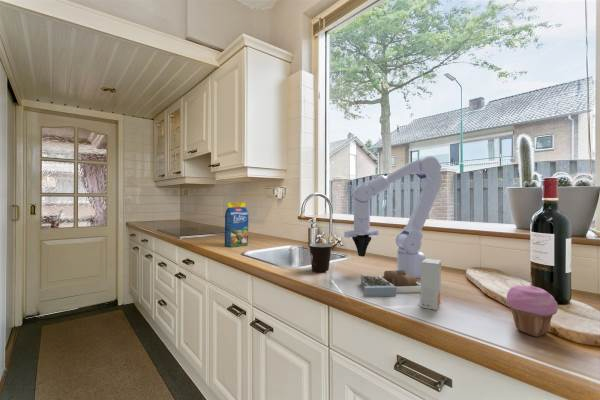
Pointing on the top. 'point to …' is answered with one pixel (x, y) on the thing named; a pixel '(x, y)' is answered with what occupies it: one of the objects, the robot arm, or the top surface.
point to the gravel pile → (372, 281)
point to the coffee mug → (320, 257)
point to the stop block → (379, 291)
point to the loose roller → (403, 280)
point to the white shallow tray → (405, 287)
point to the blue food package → (236, 225)
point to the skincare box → (430, 283)
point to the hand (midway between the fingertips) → (361, 256)
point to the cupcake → (531, 309)
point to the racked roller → (392, 274)
